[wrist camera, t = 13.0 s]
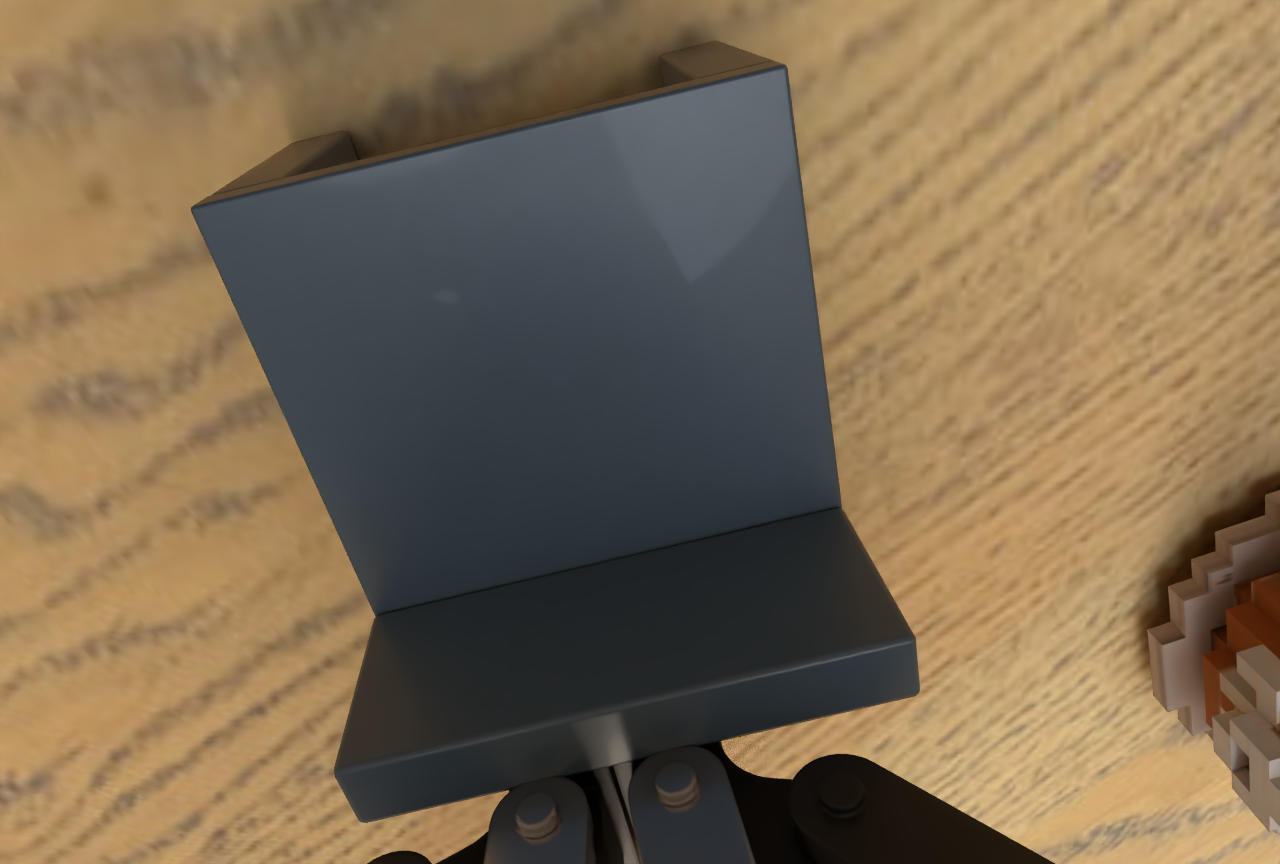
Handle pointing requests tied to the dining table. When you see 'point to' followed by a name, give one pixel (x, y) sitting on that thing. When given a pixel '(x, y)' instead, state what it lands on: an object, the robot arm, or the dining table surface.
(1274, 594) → the candy apple
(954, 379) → the dining table surface
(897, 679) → the chair
